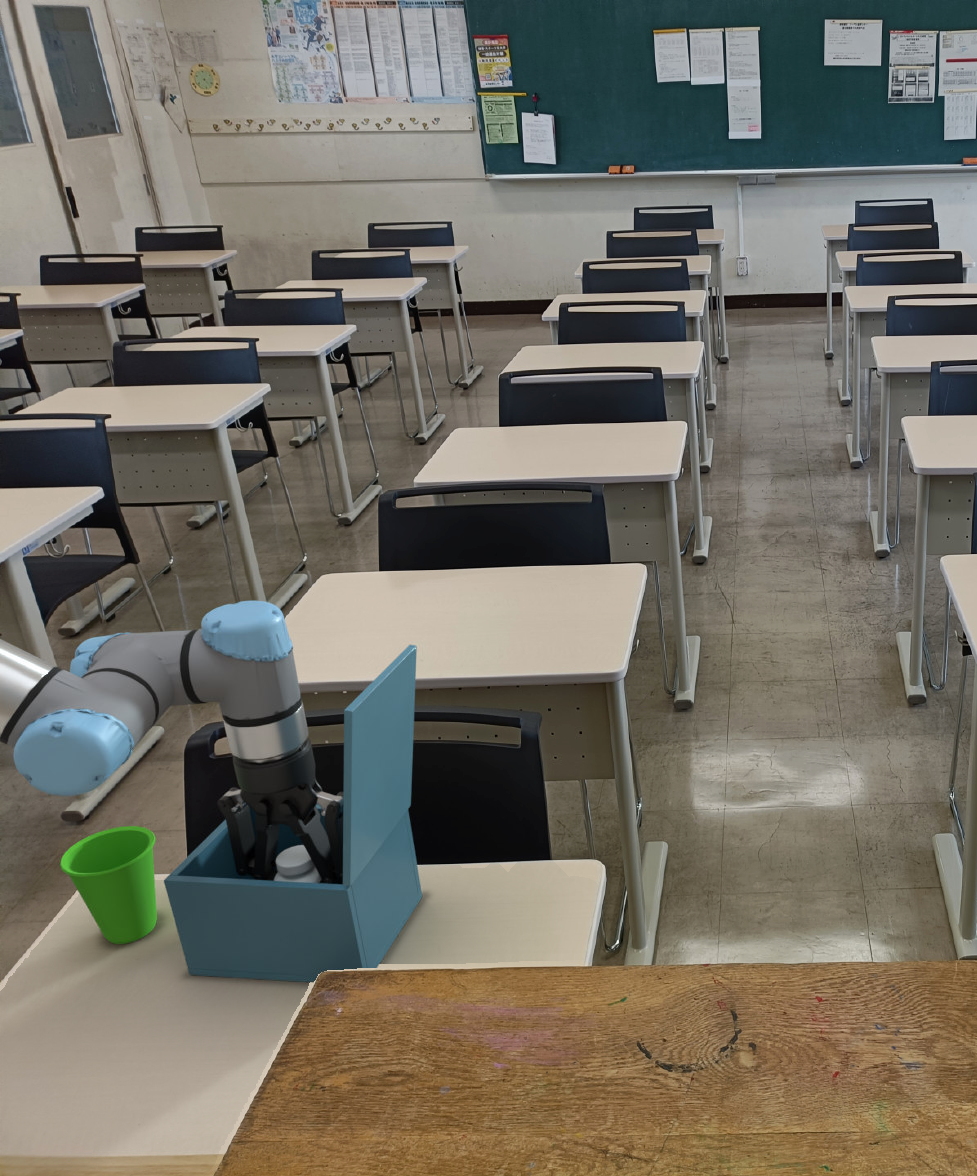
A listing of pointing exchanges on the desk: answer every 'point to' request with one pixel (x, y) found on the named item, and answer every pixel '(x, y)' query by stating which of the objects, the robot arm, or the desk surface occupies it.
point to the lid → (377, 762)
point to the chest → (290, 911)
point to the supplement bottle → (296, 866)
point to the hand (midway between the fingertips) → (309, 924)
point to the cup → (116, 880)
